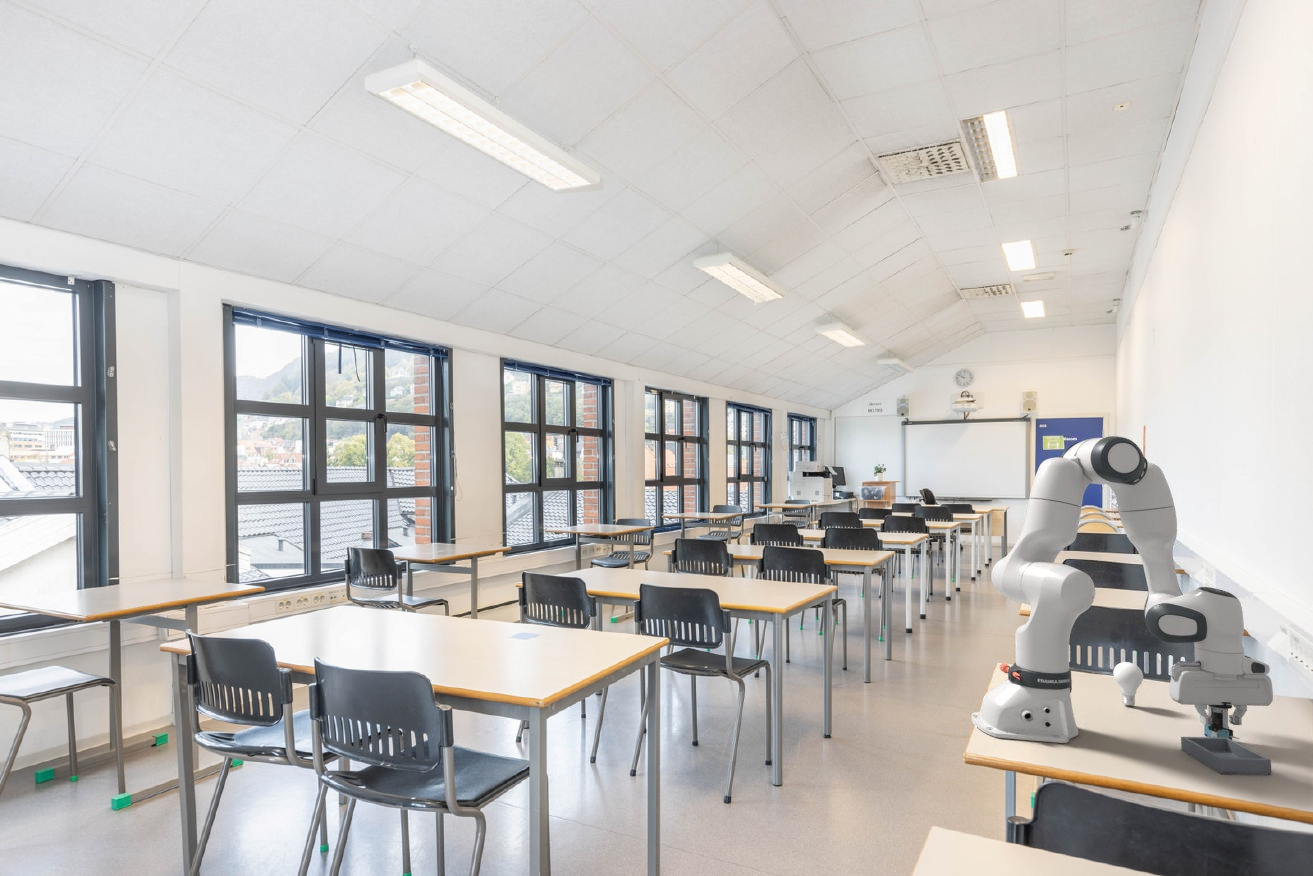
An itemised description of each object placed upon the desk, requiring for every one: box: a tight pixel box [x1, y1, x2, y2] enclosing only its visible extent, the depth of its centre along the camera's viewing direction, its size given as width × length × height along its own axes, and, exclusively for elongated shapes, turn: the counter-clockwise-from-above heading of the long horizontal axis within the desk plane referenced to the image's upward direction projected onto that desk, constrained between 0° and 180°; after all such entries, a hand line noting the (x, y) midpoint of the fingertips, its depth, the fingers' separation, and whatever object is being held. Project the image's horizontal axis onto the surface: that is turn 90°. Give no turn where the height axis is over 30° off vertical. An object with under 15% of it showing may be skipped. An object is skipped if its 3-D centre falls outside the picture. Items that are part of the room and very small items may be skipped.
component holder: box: [1180, 736, 1272, 776], centre depth 148 cm, size 10×12×3 cm
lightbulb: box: [1112, 661, 1144, 708], centre depth 182 cm, size 6×6×11 cm
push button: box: [1203, 702, 1240, 744], centre depth 159 cm, size 7×5×10 cm
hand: (1220, 724), depth 159 cm, fingers closed on push button, 5 cm apart
